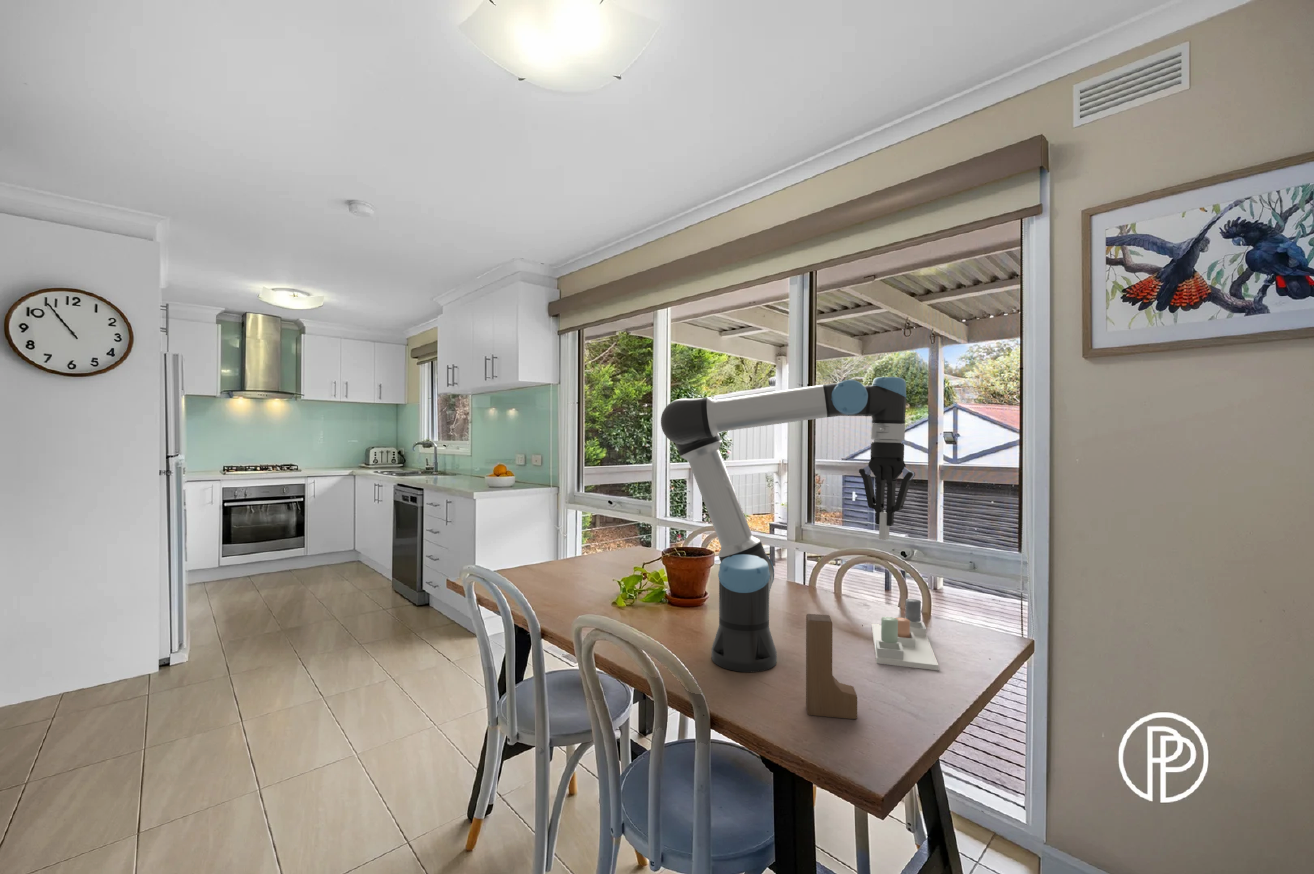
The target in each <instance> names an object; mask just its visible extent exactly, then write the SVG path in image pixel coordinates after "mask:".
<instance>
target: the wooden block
mask: <svg viewBox="0 0 1314 874" xmlns="http://www.w3.org/2000/svg"><path fill="white" fill-rule="evenodd" d="M805 705H806V707H805V708H806V713H807V715H808V716H814V717H815V716H816V717H827V718H838V719H848V720H849V719H850V720H857V718H858V695H857V692H856V690H855V687H854V686H853V685H850V684H845V683H842V682H840V681H839V680H837V678H835V677H834V675H833V621H832V618H831V616H830V615H829V614H817V613H807V614H806V615H805Z"/></svg>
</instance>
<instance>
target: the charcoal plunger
mask: <svg viewBox="0 0 1314 874" xmlns="http://www.w3.org/2000/svg"><path fill="white" fill-rule="evenodd" d="M921 605H922V602H921V600H920V599H916V598H906V599H905V618H906V619H909V620H910V621H911V622H922V620H921V619H922V617H921V616H922V609H921V608H922V607H921Z"/></svg>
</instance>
